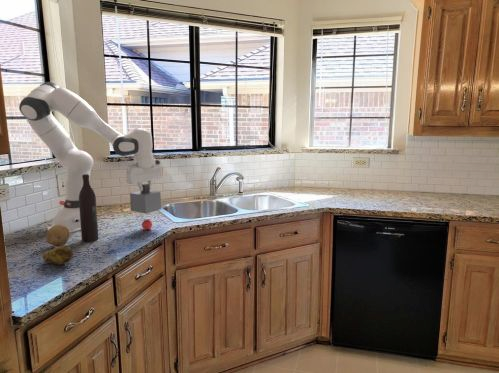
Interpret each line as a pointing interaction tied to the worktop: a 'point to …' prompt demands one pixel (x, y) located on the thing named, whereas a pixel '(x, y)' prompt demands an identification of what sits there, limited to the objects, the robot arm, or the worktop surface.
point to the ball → (146, 224)
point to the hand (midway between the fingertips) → (145, 190)
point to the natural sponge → (57, 235)
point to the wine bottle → (88, 211)
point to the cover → (145, 200)
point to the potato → (58, 255)
